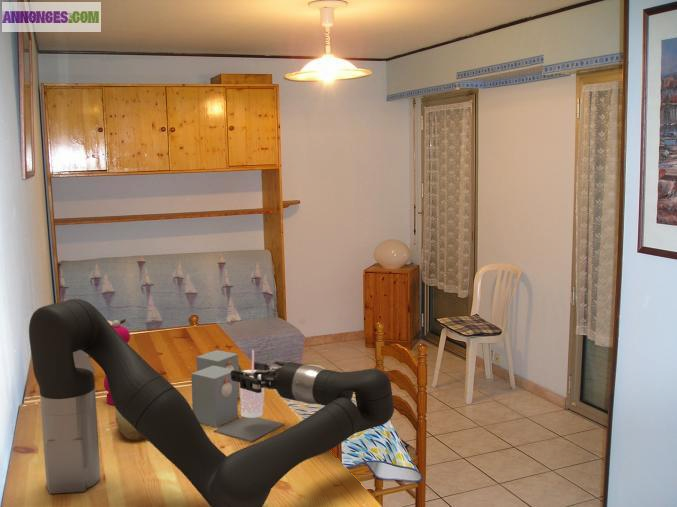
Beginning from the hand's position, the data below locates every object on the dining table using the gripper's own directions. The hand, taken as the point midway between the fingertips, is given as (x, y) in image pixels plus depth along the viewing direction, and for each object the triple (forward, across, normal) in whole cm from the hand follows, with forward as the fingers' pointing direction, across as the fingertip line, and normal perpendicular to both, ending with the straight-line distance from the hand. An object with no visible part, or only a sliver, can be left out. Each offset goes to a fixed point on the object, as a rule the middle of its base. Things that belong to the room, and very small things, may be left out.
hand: (242, 371), depth 150 cm
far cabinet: (+17, +9, -12) cm, 23 cm away
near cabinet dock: (+2, -1, -12) cm, 13 cm away
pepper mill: (+37, -4, -12) cm, 39 cm away
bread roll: (+18, -14, -12) cm, 26 cm away
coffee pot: (+57, +2, -12) cm, 58 cm away
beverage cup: (-3, -1, -9) cm, 10 cm away
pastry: (+28, +24, -12) cm, 39 cm away
